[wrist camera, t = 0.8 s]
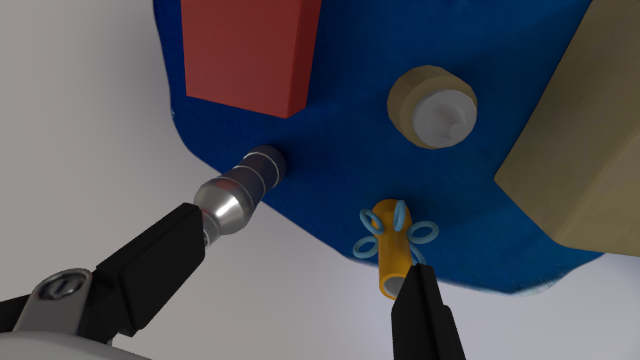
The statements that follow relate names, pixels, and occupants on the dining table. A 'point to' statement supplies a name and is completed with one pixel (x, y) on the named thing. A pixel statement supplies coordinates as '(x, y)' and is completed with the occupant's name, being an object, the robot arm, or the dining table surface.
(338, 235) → the dining table surface
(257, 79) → the red box lid
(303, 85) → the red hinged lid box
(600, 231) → the cheese
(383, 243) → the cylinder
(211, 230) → the silver metal bottle
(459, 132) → the squeeze bottle
